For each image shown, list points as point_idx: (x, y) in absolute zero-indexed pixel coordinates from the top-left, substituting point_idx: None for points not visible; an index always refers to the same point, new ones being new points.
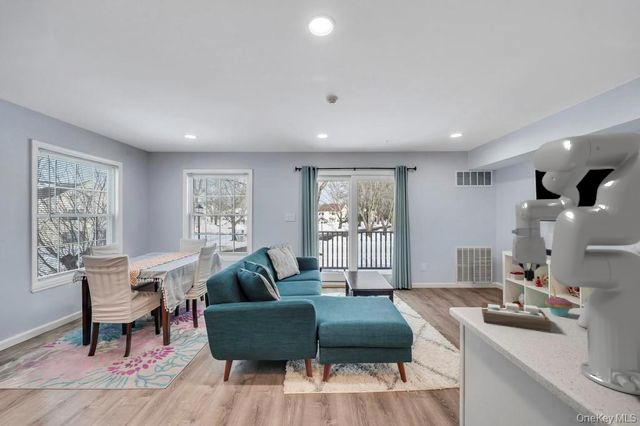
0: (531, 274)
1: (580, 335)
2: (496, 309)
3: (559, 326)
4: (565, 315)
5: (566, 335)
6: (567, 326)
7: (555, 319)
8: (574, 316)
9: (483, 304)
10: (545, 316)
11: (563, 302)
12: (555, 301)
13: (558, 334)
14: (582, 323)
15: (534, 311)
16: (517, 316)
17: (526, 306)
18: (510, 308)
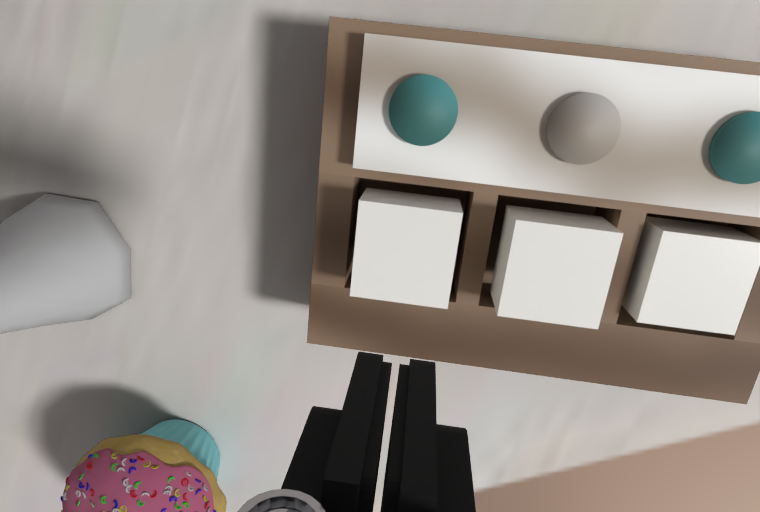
0: (359, 423)
1: (173, 46)
2: (751, 120)
3: (248, 201)
4: (152, 427)
5: (261, 5)
6: (199, 220)
7: (230, 347)
8: None
9: (755, 350)
10: (331, 145)
11: (110, 476)
12: (159, 490)
13: (308, 5)
14: (101, 241)
15: (394, 199)
16: (577, 49)
17: (441, 253)
18: (581, 222)
